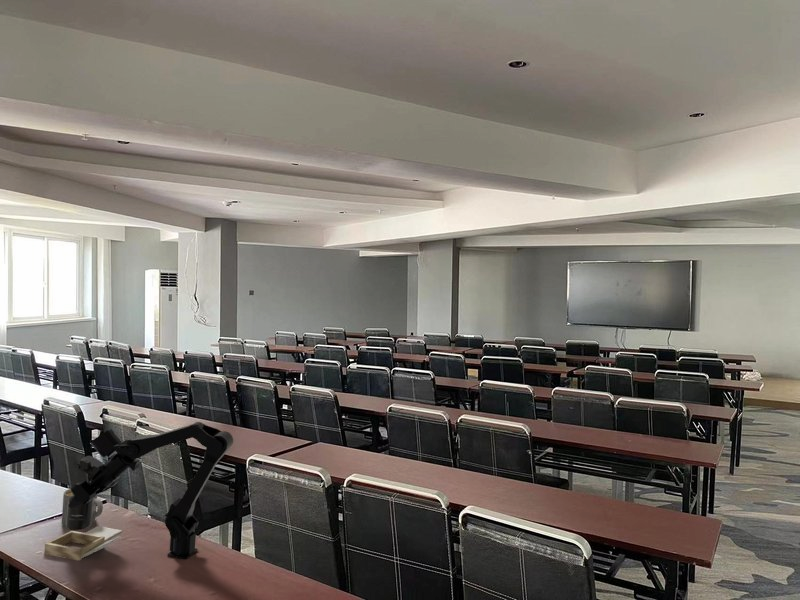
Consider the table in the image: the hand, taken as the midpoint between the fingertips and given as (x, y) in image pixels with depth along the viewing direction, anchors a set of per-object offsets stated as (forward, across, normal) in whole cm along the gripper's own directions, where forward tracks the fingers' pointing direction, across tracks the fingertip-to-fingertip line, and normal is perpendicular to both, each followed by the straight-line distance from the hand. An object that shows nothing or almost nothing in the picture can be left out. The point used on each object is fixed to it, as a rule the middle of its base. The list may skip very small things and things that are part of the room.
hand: (76, 502), depth 175 cm
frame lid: (+2, +5, +17) cm, 18 cm away
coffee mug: (+14, -17, +4) cm, 23 cm away
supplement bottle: (+4, 0, +6) cm, 7 cm away
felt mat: (+7, -9, +12) cm, 16 cm away
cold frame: (+8, +3, +11) cm, 14 cm away
